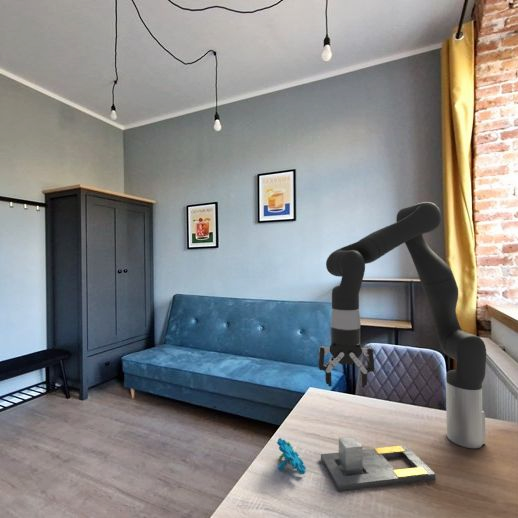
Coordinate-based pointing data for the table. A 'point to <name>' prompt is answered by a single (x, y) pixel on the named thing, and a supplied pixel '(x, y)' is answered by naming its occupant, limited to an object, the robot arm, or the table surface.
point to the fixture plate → (378, 469)
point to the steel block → (350, 456)
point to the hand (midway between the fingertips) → (345, 386)
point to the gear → (290, 456)
